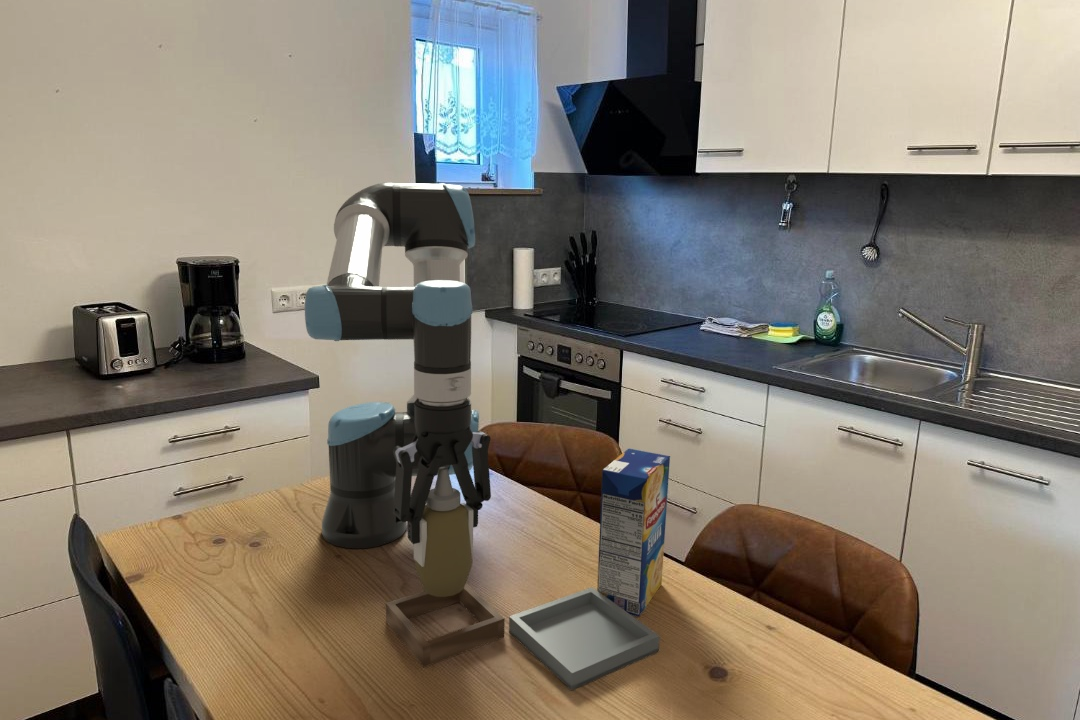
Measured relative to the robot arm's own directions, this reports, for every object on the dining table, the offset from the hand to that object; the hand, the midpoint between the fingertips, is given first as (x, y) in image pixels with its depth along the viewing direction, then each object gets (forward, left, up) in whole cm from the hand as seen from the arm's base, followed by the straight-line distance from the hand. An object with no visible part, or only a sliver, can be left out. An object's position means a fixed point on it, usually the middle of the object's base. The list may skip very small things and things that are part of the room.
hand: (443, 554), depth 103 cm
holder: (0, 0, -11) cm, 11 cm away
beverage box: (+7, +29, -12) cm, 32 cm away
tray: (+13, +15, -11) cm, 23 cm away
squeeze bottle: (0, 0, -5) cm, 5 cm away
